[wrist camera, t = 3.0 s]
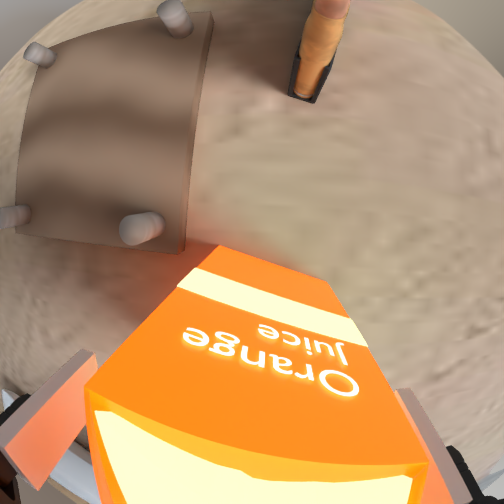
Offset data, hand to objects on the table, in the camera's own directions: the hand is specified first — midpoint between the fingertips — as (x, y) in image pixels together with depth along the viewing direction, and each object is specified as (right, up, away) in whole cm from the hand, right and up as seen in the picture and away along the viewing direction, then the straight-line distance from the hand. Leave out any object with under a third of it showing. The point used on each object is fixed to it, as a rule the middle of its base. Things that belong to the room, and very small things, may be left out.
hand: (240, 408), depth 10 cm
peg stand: (-11, +16, +7) cm, 20 cm away
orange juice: (+1, +2, +9) cm, 9 cm away
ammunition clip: (+5, +21, +5) cm, 22 cm away
